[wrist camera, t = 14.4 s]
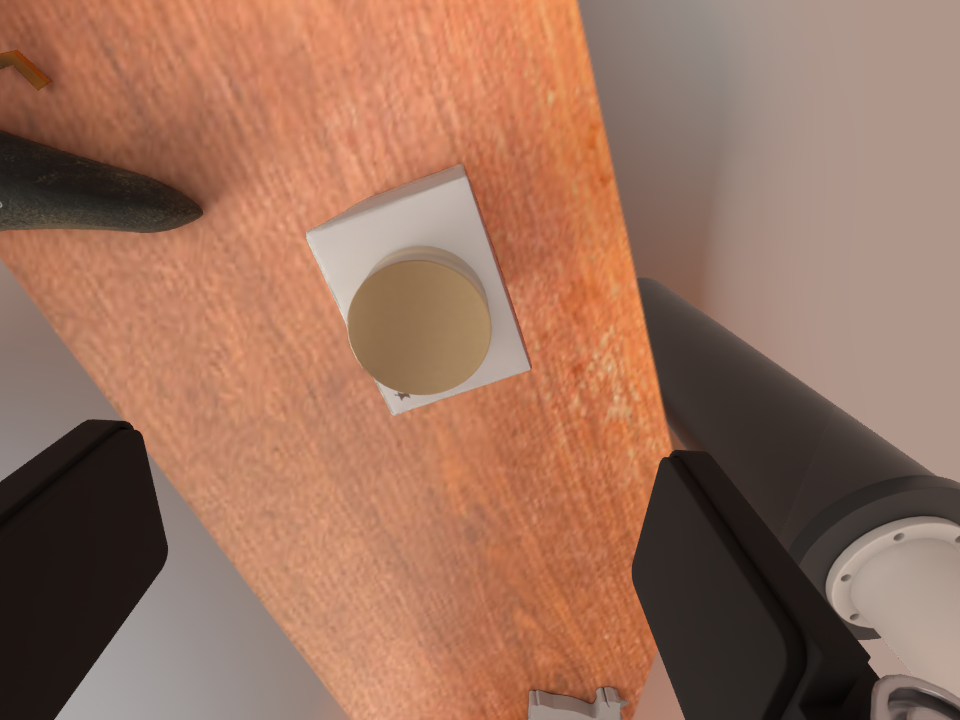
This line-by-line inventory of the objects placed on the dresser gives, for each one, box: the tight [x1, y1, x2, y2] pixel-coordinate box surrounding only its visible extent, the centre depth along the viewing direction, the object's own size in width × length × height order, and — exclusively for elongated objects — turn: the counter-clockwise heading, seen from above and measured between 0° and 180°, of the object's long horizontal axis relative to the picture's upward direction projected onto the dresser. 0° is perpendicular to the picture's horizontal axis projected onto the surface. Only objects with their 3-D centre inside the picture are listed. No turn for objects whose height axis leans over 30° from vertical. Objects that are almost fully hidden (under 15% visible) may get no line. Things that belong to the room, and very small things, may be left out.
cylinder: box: [347, 246, 492, 395], centre depth 17 cm, size 5×5×2 cm
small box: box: [306, 163, 532, 416], centre depth 24 cm, size 8×6×13 cm
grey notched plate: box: [528, 687, 629, 720], centre depth 49 cm, size 6×1×10 cm
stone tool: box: [0, 131, 203, 233], centre depth 26 cm, size 17×6×5 cm
